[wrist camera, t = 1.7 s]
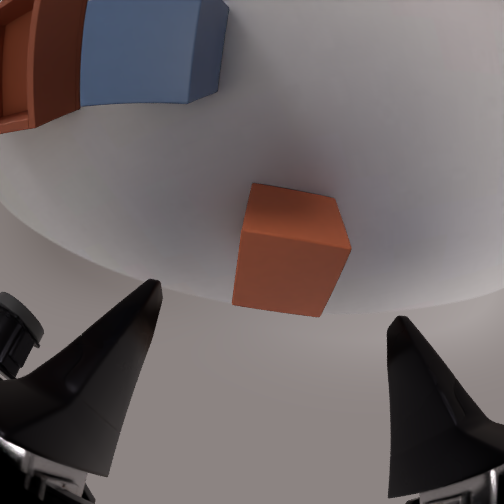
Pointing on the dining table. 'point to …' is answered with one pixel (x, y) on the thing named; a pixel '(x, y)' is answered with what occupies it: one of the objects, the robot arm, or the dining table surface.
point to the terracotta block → (289, 251)
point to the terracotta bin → (39, 61)
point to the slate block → (151, 51)
